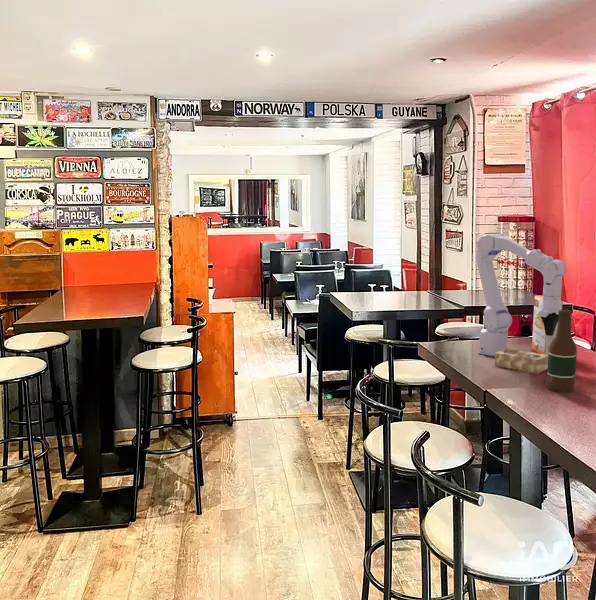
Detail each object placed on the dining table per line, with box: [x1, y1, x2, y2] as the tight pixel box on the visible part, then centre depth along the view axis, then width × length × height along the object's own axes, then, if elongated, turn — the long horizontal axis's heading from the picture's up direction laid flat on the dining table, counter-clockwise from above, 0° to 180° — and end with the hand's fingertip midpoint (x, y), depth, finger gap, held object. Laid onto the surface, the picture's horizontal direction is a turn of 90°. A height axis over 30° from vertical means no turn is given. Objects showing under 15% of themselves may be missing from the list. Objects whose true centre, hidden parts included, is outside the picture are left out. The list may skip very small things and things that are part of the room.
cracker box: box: [531, 295, 564, 355], centre depth 240 cm, size 14×6×21 cm, turn 178°
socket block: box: [494, 348, 548, 374], centre depth 221 cm, size 15×9×4 cm, turn 49°
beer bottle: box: [546, 308, 578, 393], centre depth 194 cm, size 8×8×24 cm
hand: (549, 335), depth 223 cm, fingers closed
